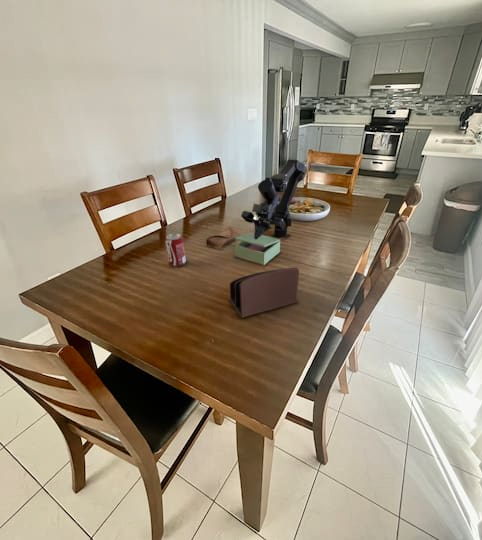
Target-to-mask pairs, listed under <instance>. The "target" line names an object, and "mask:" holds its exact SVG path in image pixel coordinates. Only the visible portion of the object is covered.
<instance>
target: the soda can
mask: <svg viewBox="0 0 482 540" xmlns="http://www.w3.org/2000/svg"><path fill="white" fill-rule="evenodd" d="M165 247H166V255H167V260H168V264H169V265H170V266H172V267H181V266H183V265H185V264H186V262H187V257H186V252H185V244H184V239H183V238H182V236H181V234H180V233H171V234H168V235H166V240H165Z"/></svg>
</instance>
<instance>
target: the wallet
mask: <svg viewBox="0 0 482 540" xmlns="http://www.w3.org/2000/svg"><path fill="white" fill-rule="evenodd" d="M270 247H272V246H266V247H261V246H257V245H254V244H251V245H249V246H248V247H246V248H249V249H252V250H256V251H260V252H263V253H264V252H265V251H266V250H268V249H269V248H270Z"/></svg>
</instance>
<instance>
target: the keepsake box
mask: <svg viewBox="0 0 482 540" xmlns="http://www.w3.org/2000/svg"><path fill="white" fill-rule="evenodd" d="M249 245H251V244H250V243H246V242H243V241H240V242H238V243H237V244H235V245H234V252H235V257H237V258H240V259H242V260H246V261H250V262H253V263H257V264H260V265H262V266H265V265H266V264H267V263H268V262H270V261H271V260H272V259H273V258H274V257H275V256H277V255H278V254H279V253H280V252H281V240H280V241H279V242H277V243H274V244H271V245H269V246H272V247H270V248H269V249H268V250H266V251H265V252H264V253H263V252H260V251H256V250H252V249H249V248H246V247H248V246H249Z"/></svg>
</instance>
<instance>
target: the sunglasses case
mask: <svg viewBox="0 0 482 540" xmlns="http://www.w3.org/2000/svg"><path fill="white" fill-rule="evenodd" d="M242 235H243V234H240V233H239V232H238V231H236V229H234V228H233V227H231V226H228V227H227V228H225V229H223V230H221V231H219V232H217V233H216V234H214V235H212V236H209V237H208V238H207V239H206V241H205V244H206V246H207V247H209V248H212V249H214V248H220V249H222V248H223V247H225V246H226V245H228V244H229V243H231V242H232V241H235V239H234V238H235V237H239V236H242Z"/></svg>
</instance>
